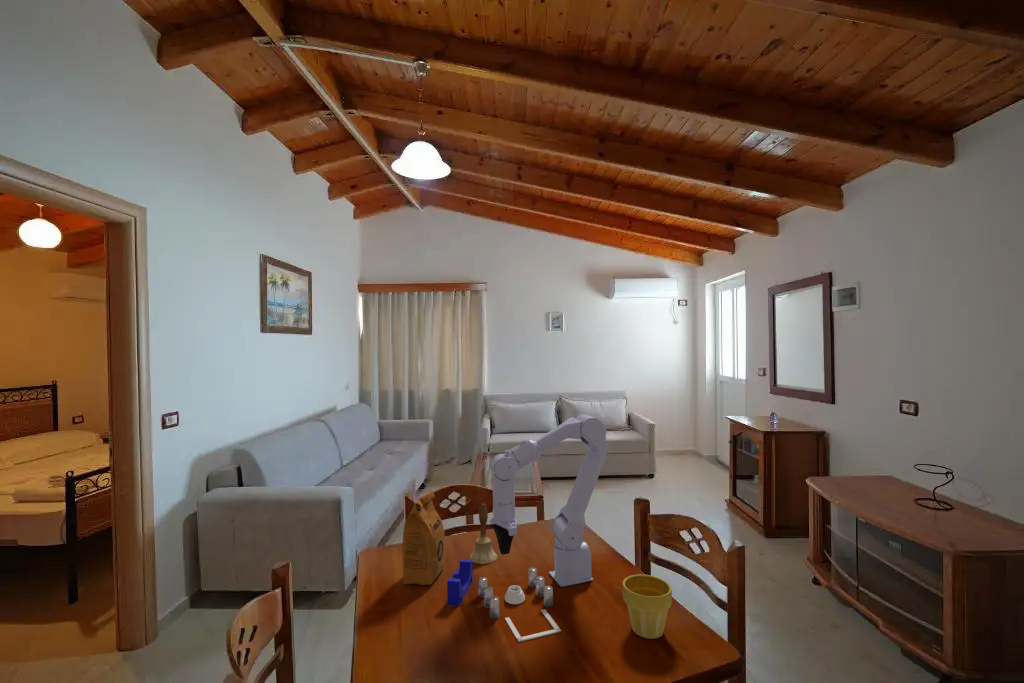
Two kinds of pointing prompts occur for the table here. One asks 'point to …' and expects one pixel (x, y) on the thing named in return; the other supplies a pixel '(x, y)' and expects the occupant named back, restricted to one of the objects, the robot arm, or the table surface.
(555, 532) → the robot arm
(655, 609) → the plant pot
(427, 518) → the coffee package
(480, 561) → the hand bell
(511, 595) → the white jar
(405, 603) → the table surface
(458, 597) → the blue curved block
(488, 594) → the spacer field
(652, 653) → the table surface
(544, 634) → the outline bay
